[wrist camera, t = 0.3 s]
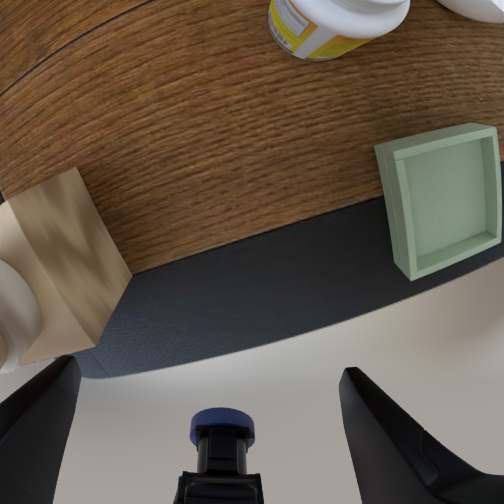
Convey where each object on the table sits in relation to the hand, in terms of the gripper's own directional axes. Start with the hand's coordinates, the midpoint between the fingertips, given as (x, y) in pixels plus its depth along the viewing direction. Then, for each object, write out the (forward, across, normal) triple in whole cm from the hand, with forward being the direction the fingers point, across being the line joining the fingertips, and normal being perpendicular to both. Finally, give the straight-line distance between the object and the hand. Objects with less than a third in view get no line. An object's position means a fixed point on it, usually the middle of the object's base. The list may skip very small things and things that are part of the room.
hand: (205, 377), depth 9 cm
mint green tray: (+13, -16, -3) cm, 21 cm away
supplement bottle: (+14, -5, -14) cm, 20 cm away
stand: (+13, +12, +2) cm, 18 cm away
